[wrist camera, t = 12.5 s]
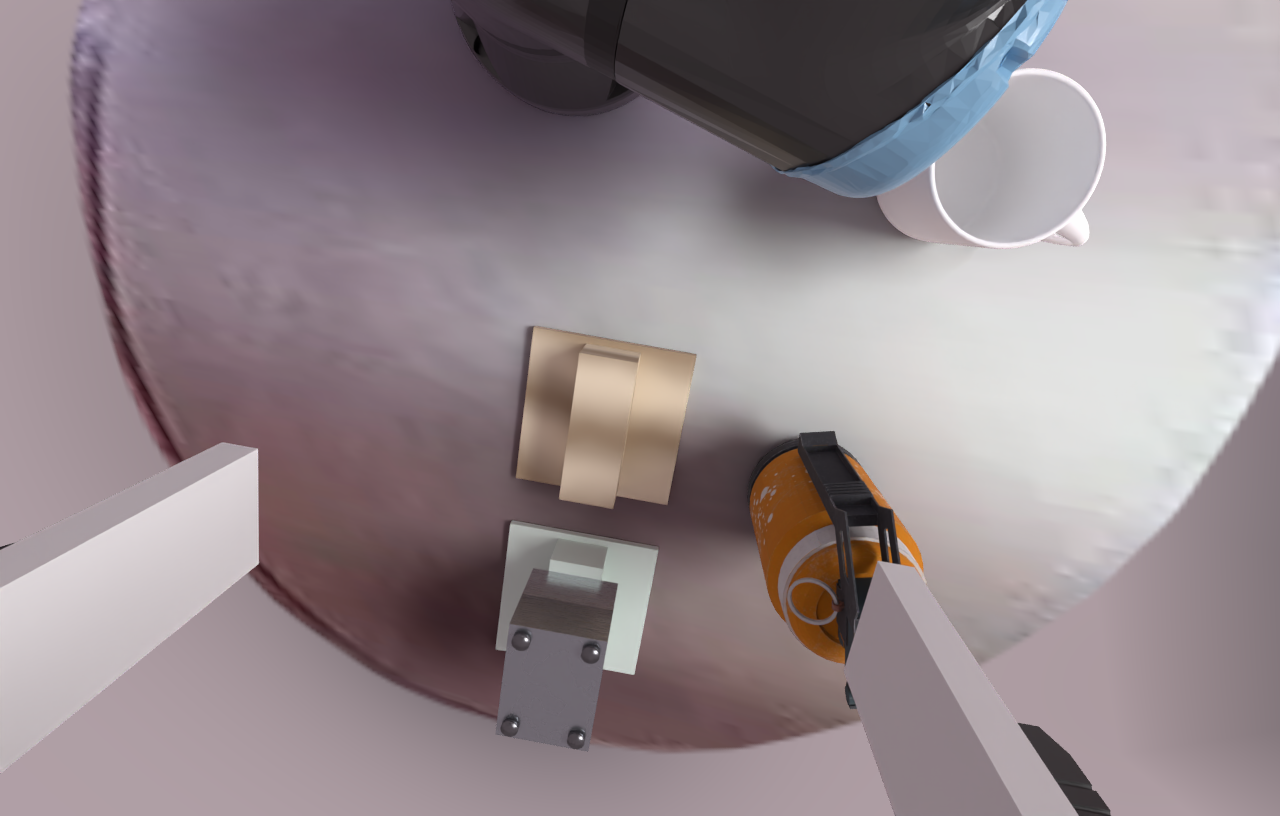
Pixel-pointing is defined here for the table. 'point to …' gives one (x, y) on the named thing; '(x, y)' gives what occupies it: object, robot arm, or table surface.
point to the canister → (823, 540)
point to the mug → (1011, 172)
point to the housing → (555, 659)
